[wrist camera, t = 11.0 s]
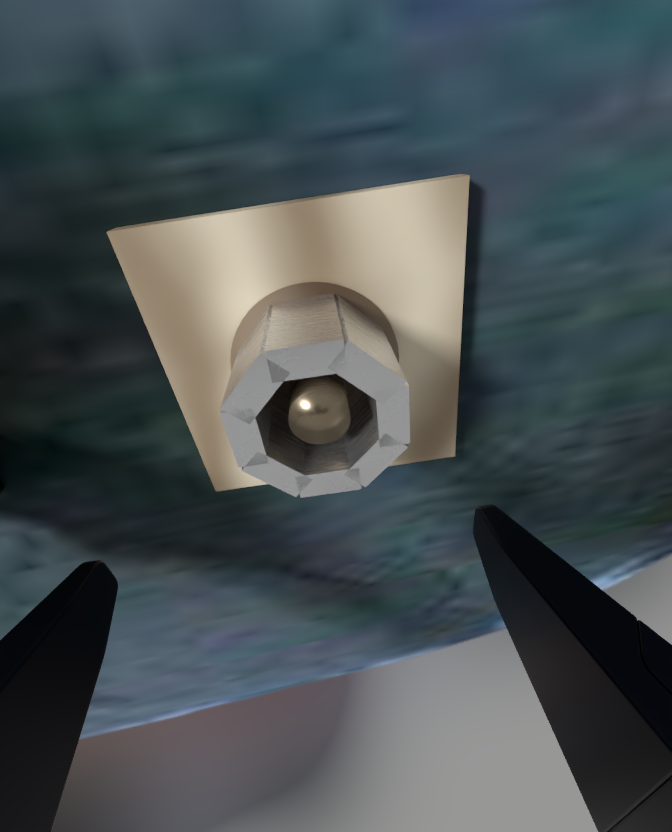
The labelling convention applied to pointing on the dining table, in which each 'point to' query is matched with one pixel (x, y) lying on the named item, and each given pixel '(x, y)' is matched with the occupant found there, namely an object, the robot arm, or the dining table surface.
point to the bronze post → (318, 408)
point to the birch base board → (307, 295)
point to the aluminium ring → (310, 357)
